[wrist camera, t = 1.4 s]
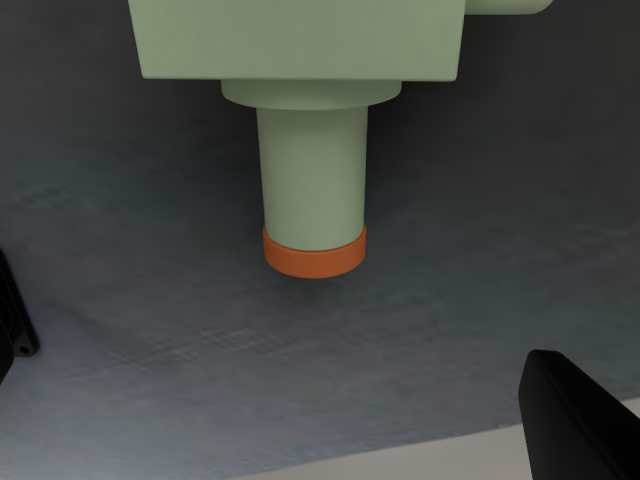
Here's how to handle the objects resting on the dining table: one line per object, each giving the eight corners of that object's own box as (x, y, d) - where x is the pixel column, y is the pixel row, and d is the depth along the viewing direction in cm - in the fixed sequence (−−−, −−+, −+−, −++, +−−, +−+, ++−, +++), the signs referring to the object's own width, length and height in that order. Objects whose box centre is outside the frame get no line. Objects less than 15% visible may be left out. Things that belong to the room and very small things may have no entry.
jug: (585, -355, 11) (483, 218, 18) (180, -320, 12) (237, 208, 19) (777, -668, 5) (525, 317, 13) (19, -558, 7) (182, 297, 14)
